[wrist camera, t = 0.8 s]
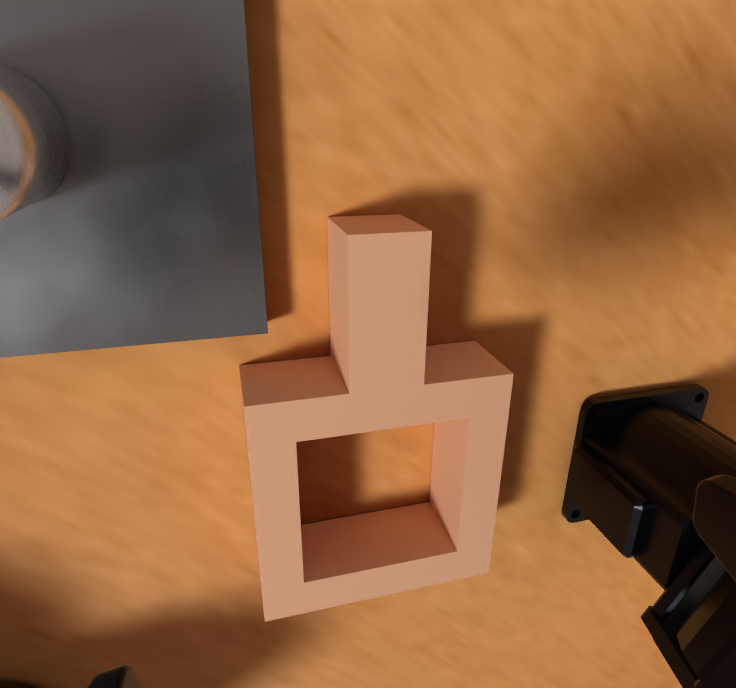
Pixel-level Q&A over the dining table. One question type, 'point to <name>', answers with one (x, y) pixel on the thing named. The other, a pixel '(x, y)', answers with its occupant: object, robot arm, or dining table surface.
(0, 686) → the supplement bottle
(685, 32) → the dining table surface
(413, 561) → the square ring with tab
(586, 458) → the robot arm
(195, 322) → the base with metal peg
